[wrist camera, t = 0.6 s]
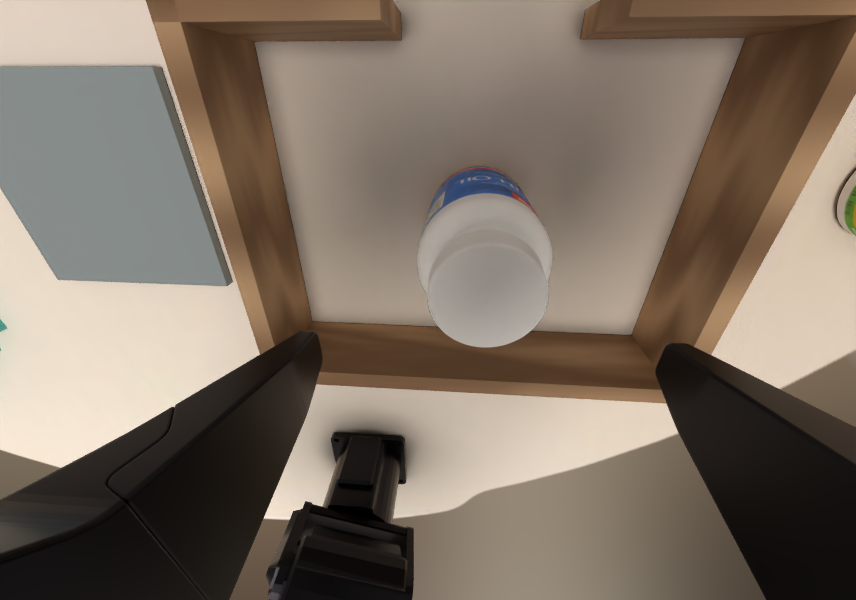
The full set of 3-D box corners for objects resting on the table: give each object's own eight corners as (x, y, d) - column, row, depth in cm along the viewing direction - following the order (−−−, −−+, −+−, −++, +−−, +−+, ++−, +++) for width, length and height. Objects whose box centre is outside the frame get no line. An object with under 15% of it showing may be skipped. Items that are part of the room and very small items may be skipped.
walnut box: (642, 347, 23) (683, 404, 19) (301, 332, 25) (269, 381, 21) (783, 7, 14) (924, -31, 10) (227, 14, 16) (140, -17, 11)
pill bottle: (543, 186, 19) (613, 261, 10) (498, 269, 21) (526, 382, 13) (449, 148, 18) (441, 195, 10) (416, 239, 21) (388, 337, 12)
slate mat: (232, 281, 23) (227, 286, 23) (66, 275, 24) (57, 279, 23) (161, 67, 17) (151, 66, 16) (-60, 67, 18) (-76, 67, 17)
